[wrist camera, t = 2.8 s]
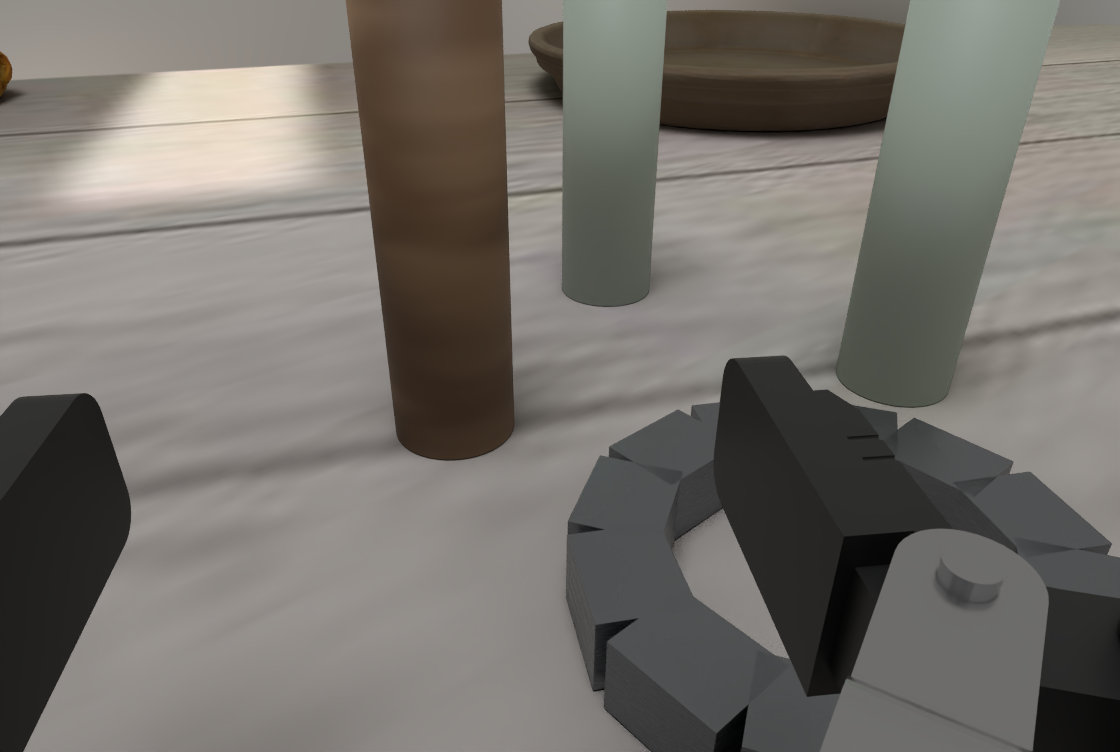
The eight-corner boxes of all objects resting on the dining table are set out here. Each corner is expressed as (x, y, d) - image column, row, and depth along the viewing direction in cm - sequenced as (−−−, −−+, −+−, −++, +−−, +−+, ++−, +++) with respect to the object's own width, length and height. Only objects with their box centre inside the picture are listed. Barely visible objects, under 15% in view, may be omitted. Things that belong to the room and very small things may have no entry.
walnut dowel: (373, 421, 24) (313, -37, 18) (468, 382, 26) (442, -44, 20) (440, 475, 22) (396, -26, 16) (538, 427, 24) (532, -35, 18)
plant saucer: (485, 68, 73) (482, 11, 70) (791, 50, 81) (798, -1, 79) (622, 166, 47) (625, 83, 45) (1045, 125, 56) (1066, 53, 54)
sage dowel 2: (814, 375, 27) (893, -43, 20) (871, 342, 28) (958, -49, 22) (914, 419, 24) (1035, -34, 18) (968, 380, 26) (1093, -41, 20)
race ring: (470, 585, 18) (466, 523, 18) (767, 409, 25) (776, 356, 24) (945, 1019, 11) (979, 954, 11) (1191, 618, 18) (1225, 555, 17)
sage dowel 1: (544, 285, 32) (541, -60, 26) (606, 263, 34) (617, -64, 28) (604, 314, 30) (617, -55, 24) (667, 288, 32) (693, -59, 26)
